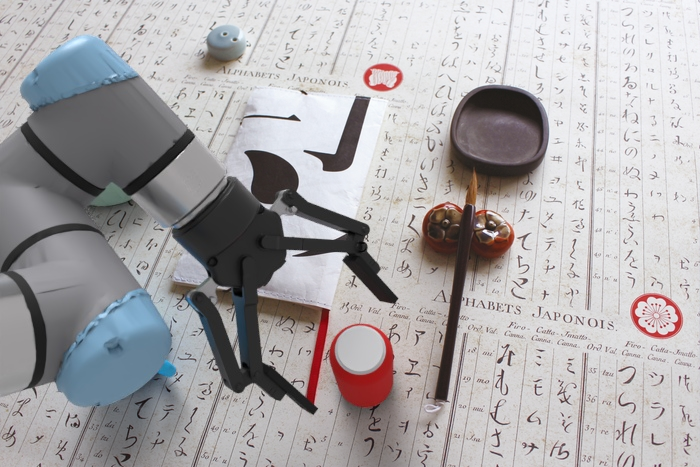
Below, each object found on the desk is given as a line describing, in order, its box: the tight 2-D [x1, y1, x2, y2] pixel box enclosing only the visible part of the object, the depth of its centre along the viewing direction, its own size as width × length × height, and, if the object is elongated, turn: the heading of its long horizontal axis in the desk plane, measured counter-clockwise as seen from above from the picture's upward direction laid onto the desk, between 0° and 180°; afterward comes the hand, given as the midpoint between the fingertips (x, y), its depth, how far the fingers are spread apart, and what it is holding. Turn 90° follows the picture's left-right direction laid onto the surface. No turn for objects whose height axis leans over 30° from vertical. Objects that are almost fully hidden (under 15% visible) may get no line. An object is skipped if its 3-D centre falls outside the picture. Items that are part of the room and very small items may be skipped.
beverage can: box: [328, 323, 394, 409], centre depth 57 cm, size 6×6×12 cm
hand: (351, 351), depth 56 cm, fingers open, 13 cm apart
